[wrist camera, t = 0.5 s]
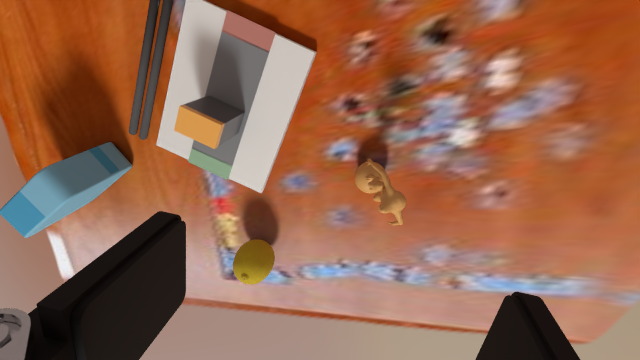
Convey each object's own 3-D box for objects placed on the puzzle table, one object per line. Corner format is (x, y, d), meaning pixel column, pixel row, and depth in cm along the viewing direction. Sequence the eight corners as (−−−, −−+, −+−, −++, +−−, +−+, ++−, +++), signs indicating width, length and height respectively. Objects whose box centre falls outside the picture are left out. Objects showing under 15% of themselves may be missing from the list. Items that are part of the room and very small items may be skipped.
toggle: (208, 95, 43) (179, 105, 37) (245, 112, 43) (221, 125, 37) (203, 116, 44) (173, 130, 38) (238, 133, 44) (214, 149, 38)
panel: (193, -8, 40) (186, -9, 39) (317, 50, 40) (315, 50, 39) (161, 143, 49) (155, 146, 47) (263, 190, 49) (260, 195, 47)
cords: (157, -27, 40) (152, -29, 39) (178, -18, 40) (173, -19, 39) (131, 132, 49) (126, 133, 48) (148, 139, 49) (143, 141, 48)
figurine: (346, 147, 44) (333, 185, 33) (391, 132, 42) (393, 167, 31) (366, 202, 47) (361, 254, 36) (410, 190, 45) (418, 241, 34)
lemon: (267, 266, 54) (249, 302, 47) (239, 245, 53) (216, 278, 46) (287, 245, 52) (271, 279, 44) (258, 222, 51) (237, 254, 44)
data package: (115, 138, 50) (40, 168, 39) (137, 163, 51) (69, 198, 40) (71, 179, 54) (-7, 215, 43) (92, 200, 55) (21, 242, 44)
